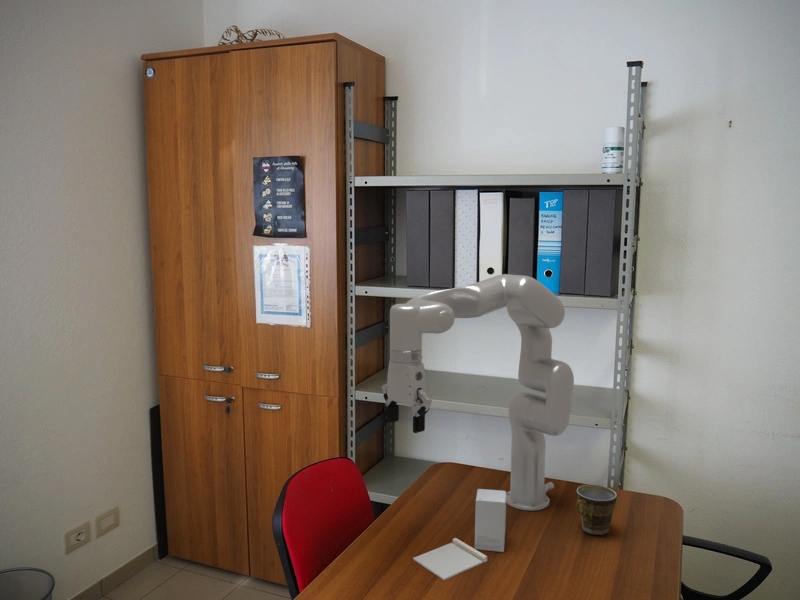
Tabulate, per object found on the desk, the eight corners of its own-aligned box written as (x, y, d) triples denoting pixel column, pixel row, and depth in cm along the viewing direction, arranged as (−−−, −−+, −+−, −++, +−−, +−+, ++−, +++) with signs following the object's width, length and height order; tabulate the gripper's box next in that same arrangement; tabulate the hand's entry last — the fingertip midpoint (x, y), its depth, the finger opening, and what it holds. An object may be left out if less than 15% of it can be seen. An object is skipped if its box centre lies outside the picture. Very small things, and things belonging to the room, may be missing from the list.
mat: (451, 544, 155) (451, 542, 155) (482, 563, 146) (482, 561, 146) (413, 559, 148) (413, 557, 148) (443, 580, 139) (443, 578, 139)
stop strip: (455, 542, 156) (455, 537, 156) (487, 561, 147) (487, 556, 147) (452, 543, 155) (452, 539, 155) (484, 562, 147) (484, 557, 146)
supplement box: (504, 552, 151) (505, 502, 150) (473, 549, 153) (474, 500, 151) (505, 538, 158) (506, 490, 157) (476, 535, 160) (477, 487, 158)
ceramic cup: (591, 516, 170) (592, 481, 169) (623, 531, 162) (625, 494, 161) (559, 529, 163) (561, 493, 161) (591, 545, 155) (593, 507, 153)
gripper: (442, 360, 143) (441, 432, 145) (395, 348, 156) (395, 415, 158) (417, 364, 138) (417, 439, 140) (371, 352, 152) (371, 420, 154)
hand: (405, 426), depth 149 cm, fingers open, 9 cm apart
